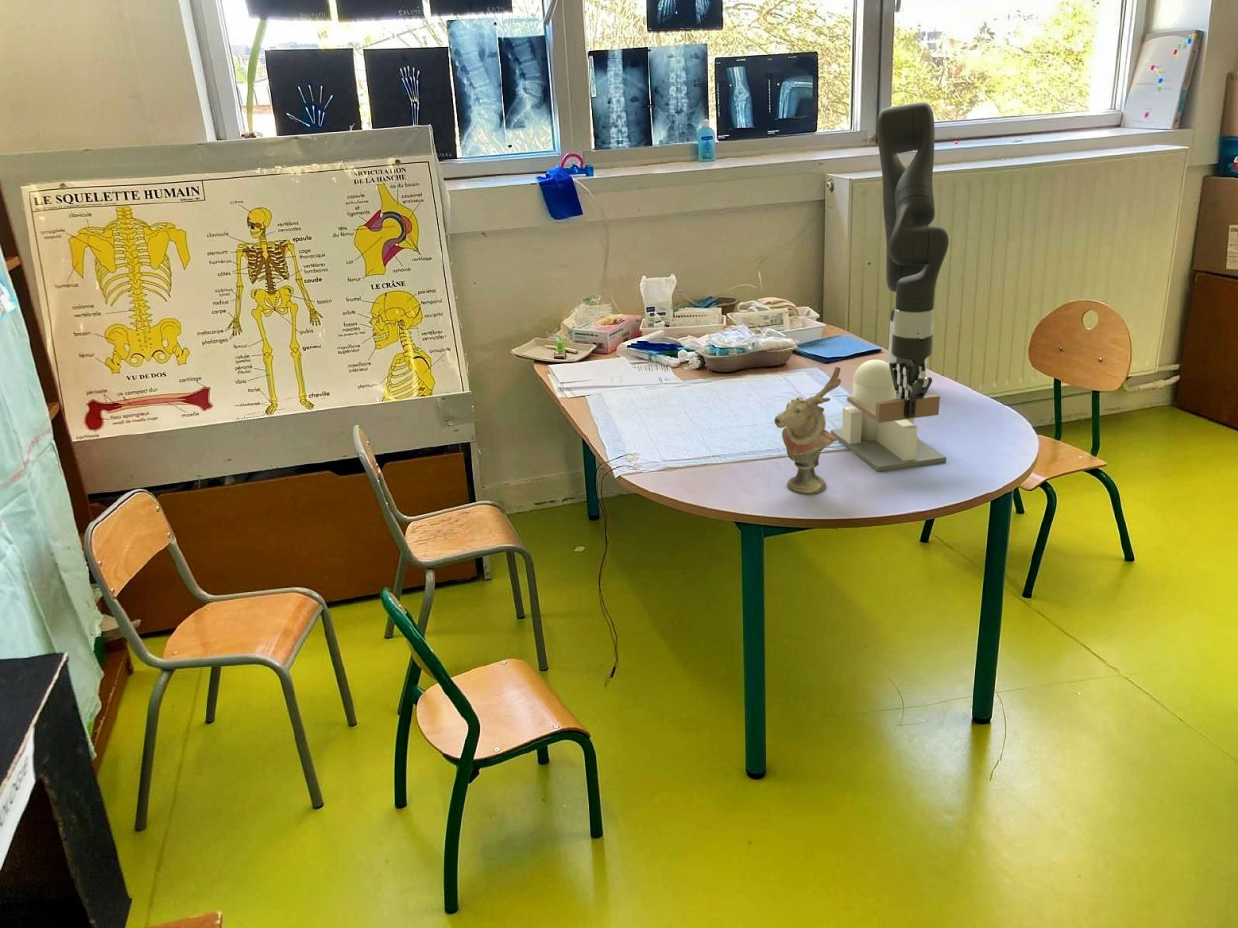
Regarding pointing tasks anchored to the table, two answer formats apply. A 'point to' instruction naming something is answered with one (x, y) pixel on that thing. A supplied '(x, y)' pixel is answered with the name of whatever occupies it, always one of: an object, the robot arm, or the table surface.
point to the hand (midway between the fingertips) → (907, 415)
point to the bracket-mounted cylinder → (881, 425)
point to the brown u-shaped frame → (898, 408)
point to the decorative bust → (807, 437)
